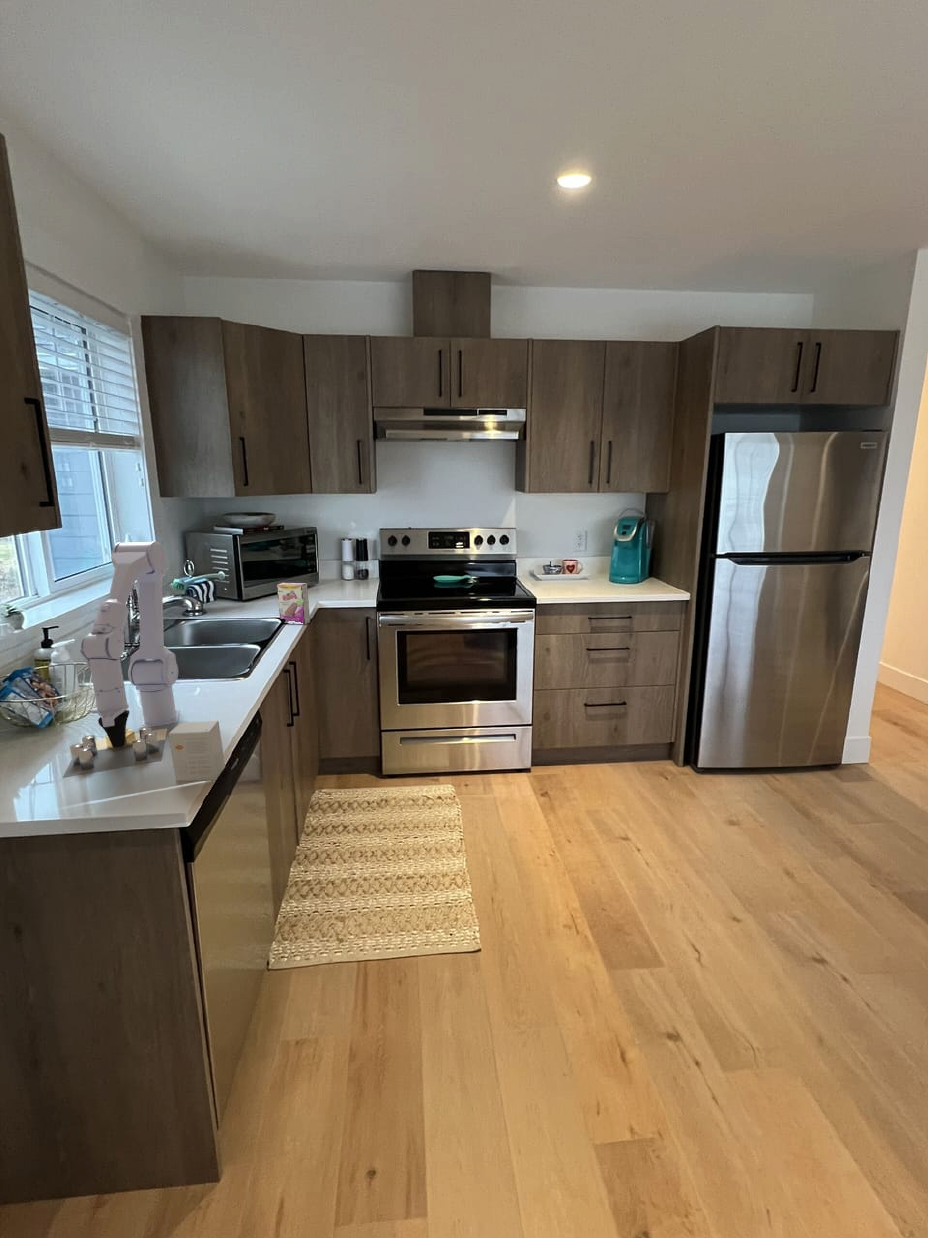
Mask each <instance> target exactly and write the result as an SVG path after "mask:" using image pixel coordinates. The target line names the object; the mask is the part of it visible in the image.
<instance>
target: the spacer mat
mask: <svg viewBox="0 0 928 1238" xmlns="http://www.w3.org/2000/svg"><path fill="white" fill-rule="evenodd" d="M151 732H156V733H157V739H158V745H159V751H158V752H156V753H152V754H148V753H147V755H148V758H147V759H145V760H142V761H136V760H135V755H134V749H133V744H132V745H130V746H128V747H125V748H119V749H111V748H109V747H108V746H107V742H106V737H102V738H97V739H96V738H95V741H96V746H97V752H98V754H97V755H95V756H93V760H94V765H95V766H94V767H93V768H92V769H89V770H82V769H81V765H80V766H74V765H73V761H72V759H71V760H70V762H69V765H67V767H66V770H65V772H64V774H63V775H62V778H63V779H64V778H69V777H74V776H75V777H76V776H80V775H87V774H93V773H98V772H104V771H109V770H116V769H122V768H128V767H134V766H139V765H145V764H151V763H155V762H161V761H162V758H163V753H164V749H165V748H164V747H165V743H166V738H167V734H168V733H167V732H168V728H162V729H161V728H160V729H154V730H151ZM134 733H135V739H136V740H137V739H140V735H139V732H134ZM80 743H82V744H83V742H82V741H80Z"/></svg>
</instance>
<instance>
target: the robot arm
mask: <svg viewBox="0 0 928 1238" xmlns="http://www.w3.org/2000/svg"><path fill="white" fill-rule="evenodd" d="M166 555H167V554H166V551H165V549H164V548H163V546H162V545H161V543H160V542H158V541H156V540H155V541H145V542H144V541H141V542H140V541H139V542H123V541H121V542H120V541H119V542H116V543H115V544H114V546H113V548H112V551H111V557H110V559H111V562H112V565H113V568H114V572H113V576H112V580H111V585H110V590H109V594H108V598H107V600H105V601H102V603H100V604H99V607H98V610H97V613H96V616H95V620H94V623H93V625H92V629H91V631H90V632H89V633H88V634H87V635H84V637H83V638H82V640H81V643H80V650H79V651H80V655H81V657H82V658H83V659H84V660H85V664H86V667H87V668H88V669H90V675H91V680H92V681H91V682H92V686H93V692H94V697H95V703H96V706H95V707H93V708H91V709H90V711H91V714H93V715H94V714H97V715H98V716H99V718H98V720H97V721H98V722H97V723H98V725H99V726H100V727H101V728H102V729H103V730H104V731H105V733H106V735H108V737H109V739H110V742H111V744H112V746H113V748H116V747H122V746H124V744H125V734H126V729H127V722H128V718H129V715H130V710H129V706H130V705H129V703H128V700H127V695H126V687H125V683H124V676H123V668H122V664H121V657H122V655H123V654H124V651H125V634H124V629H125V626H126V623H127V620H128V617H129V613H130V610H129V608H128V607H127V605H126V604H127V601H128V600H129V597H130V594H131V593H132V590H133V588H134V587H135V582H137V584H138V605H139V606H138V607H139V608H138V611H139V612H138V614H139V615H138V616H139V649H137V650H136V651H135V652H134V653H133V654H131V656H130V660H129V662H130V663H129V667H128V671H127V676H128V680H129V682H130V683H131V685H132V686H133V687H135V689H136V690H137V691H138V692H139V696H140V702H141V710H142V716H143V720H142V722H141V726H140V728H142V727H151V728H152V727H157V726H165V725H172V724H177V723H178V721H179V715H180V709H179V708H176V704H175V698H174V692H173V691H174V690H173V689H174V688H173V685H174V684H175V683H176V682H177V680H178V678H179V677H178V676H179V666H178V664H177V660H176V659H177V658H176V657H177V656H176V654H175V653H174V652H172V651H170V650H169V649H167V648H166V647H165V646H164V644H165V643H164V606H163V605H164V601H163V600H164V599H163V598H164V597H163V578H164V577H166V575H167V556H166ZM154 659H155V660H154Z"/></svg>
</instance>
